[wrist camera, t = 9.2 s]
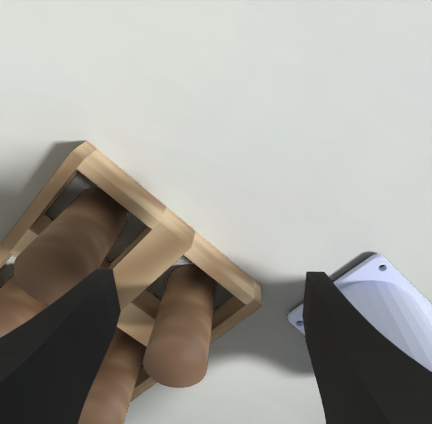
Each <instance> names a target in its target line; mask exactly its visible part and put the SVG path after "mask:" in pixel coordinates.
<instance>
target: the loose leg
mask: <svg viewBox="0 0 432 424" xmlns="http://www.w3.org/2000/svg"><path fill="white" fill-rule="evenodd" d="M126 222H127V210H126V208H125V207H123V206H122V205H121V204H120V203H118V202H117V201H116V200H115V199H113V198H112V197H111V196H110V195H108V194H107V193H106V192H105V191H103V190H102V189H101V188H92V189H88V190H85V191H84V192H82V193H81V194H80V195H79V196H78V197H77V198H76V199H75V200H74V201H73V202H72V203H71V204H70V205H69V206H68V207H67V208H66V209H65V210H64V211H63V212H62V213H61V214H60V215H59V216H58V217H57V218H56V219H55V220H54V221H53V222H52V223H51V224H50V225H49V226H48V227H47V228H45V229H44V230H43V231H42V232H41V233H40V234H39V235H38V236H37V237H36V238H35V239H34V240H33V241H32V242H31V243H30V244H29V245H28V246H27V247H26V248H25V249H24V250H23V251H22V252H21V253H20V254H19V255H18V257H17V258H16V260H15V262H14V275H15V278H16V280H17V282H18V284H19V285H20V287H21V288H22V289H23V290H24V291H25V292H26V293H27V294H28V295H29V296H31V297H32V298H34V299H36V300H38V301H40V302H42V303H45V304H49V305H51V304H52V303H54V302H55V301H56V300H58V299H59V298H60V297H61V296H63V295H64V294H65V293H66V292H68V291H69V290H70V289H72V288H73V287H74V286H75V285H77V284H78V283H79V282H80V281H82V280H83V279H84V278H85V277H87V276H88V275H89V274H91V273H92V272H93V271H95V270H96V269H98V268H99V267H100V265H101V263H102V262H103V260H104V259H105V257H106V255H107V254H108V252H109V250H110V249H111V247H112V246H113V244H114V242H115V241H116V239H117V237H118V236H119V234H120V233H121V231H122V229H123V228H124V226H125V224H126Z"/></svg>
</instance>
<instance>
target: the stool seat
mask: <svg viewBox="0 0 432 424" xmlns="http://www.w3.org/2000/svg"><path fill="white" fill-rule="evenodd" d="M79 171H80V172H81V173H82V174H83V175H85V176H86V177H87V178H88V179H90V180H91V181H92V182H93V183H95V184H96V185H97V186H98V187H100V188H101V189H102V190H103V191H105V192H106V193H107V194H108V195H110V196H111V197H112V198H113V199H115V200H116V201H117V202H118V203H120V204H121V205H122V206H123V207H125V208H126V209H127V210H128V211H130V212H131V213H132V214H133V215H135V216H136V217H137V218H138V219H140V220H141V221H142V222H143V223H145V224H146V225H147V227H146V228H145V229H144V230H143V231H142V232H141V233H140V234H139V235H138V237H137V238H136V239H135V240H134V241H133V242H132V243H131V244H130V245H129V246H128V247H127V248H126V249H125V250H124V251H123V252H122V253H121V254H120V255H119V256H118V257H117V258H116V259H115V260H114V261H113V262H112V263H110V262H108V261H107V260H106V259H104V260H103V262H102V263H101V265H100V267H99V268H98V269H113V273H114V278H115V283H116V288H117V294H118V299H119V304H120V309H121V313H120V316H119V320H118V323H117V327H116V330H115V333H114V336H113V339H112V341H111V343H110V346H109V348H108V350H107V352H106V355H105V357H104V359H103V361H102V364H101V366H100V368H99V370H98V373H97V375H96V377H95V379H94V382H93V384H92V386H91V388H90V391H89V393H88V396H87V398H86V401H85V403H84V406H83V409H82V412H81V415H80V418H79V421H78V424H123V422H124V419H125V416H126V413H127V409H128V406H129V403H130V402H131V401H132V400H133V399H135V398H136V397H138V396H139V395H140V394H142V393H143V392H144V391H146V390H147V389H149V388H150V387H151V386H153V385H154V384H155V383H157V382H158V383H160V384H163V385H165V386H169V387H176V388H183V387H189V386H192V385H195V384H197V383H198V382H200V381H201V380H202V379H203V378H204V376H205V374H206V371H207V363H208V354H209V345H210V343H211V342H213V341H214V340H216V339H217V338H218V337H220V336H221V335H222V334H224V333H225V332H226V331H228V330H229V329H231V328H232V327H233V326H235V325H236V324H237V323H239V322H240V321H242V320H243V319H244V318H246V317H247V316H248V315H250V314H251V313H252V312H254V311H255V310H257V309H258V308H259V307H261V306H262V294H261V286H260V285H259V284H258V283H257V282H255V281H254V280H253V279H252V278H251V277H249V276H248V275H247V274H246V273H245V272H243V271H242V270H241V269H240V268H239V267H237V266H236V265H235V264H234V263H233V262H231V261H230V260H229V259H228V258H227V257H225V256H224V255H223V254H222V253H221V252H220V251H218V250H217V249H216V248H215V247H214V246H212V245H211V244H210V243H209V242H208V241H206V240H205V239H204V238H203V237H202V236H200V235H199V234H198V233H197V232H196V231H194V230H193V229H192V228H191V227H190V226H188V225H187V224H186V223H185V222H184V221H182V220H181V219H180V218H179V217H178V216H176V215H175V214H174V213H173V212H172V211H170V210H169V209H168V208H167V207H166V206H164V205H163V204H162V203H161V202H160V201H158V200H157V199H156V198H155V197H154V196H152V195H151V194H150V193H149V192H148V191H146V190H145V189H144V188H143V187H142V186H140V185H139V184H138V183H137V182H136V181H134V180H133V179H132V178H131V177H130V176H128V175H127V174H126V173H125V172H124V171H123V170H121V169H120V168H119V167H118V166H117V165H115V164H114V163H113V162H112V161H111V160H109V159H108V158H107V157H106V156H105V155H103V154H102V153H101V152H100V151H99V150H97V149H96V148H95V147H94V146H93V145H91V144H90V143H89V142H88V141H85V142H84V143H82V144H81V145H80V146H78V147H77V148H75V149H74V150H72V152H71V153H70V154H69V155H68V157H67V158H66V159H65V161H64V162H63V163H62V165H61V166H60V167H59V168H58V170H57V171H56V172H55V174H54V175H53V176H52V178H51V179H50V180H49V181H48V183H47V184H46V185H45V187H44V188H43V189H42V191H41V192H40V193H39V194H38V196H37V197H36V198H35V200H34V201H33V202H32V204H31V205H30V206H29V207H28V209H27V210H26V211H25V213H24V214H23V215H22V217H21V218H20V219H19V220H18V222H17V223H16V224H15V226H14V227H13V228H12V230H11V231H10V232H9V233H8V235H7V236H6V237H5V239H4V240H3V241H2V243H1V244H0V269H1V268H2V267H3V265H4V264H5V263H6V262H7V260H8V259H9V258H10V257H11V255H14V256H15V257H16V258H17V257H18V255H19V254H20V253H21V252H22V251H23V250H24V249H25V248H26V247H27V246H28V245H29V244H30V243H31V242H32V241H33V240H34V239H35V238H36V237H37V236H38V235H39V234H40V233H41V232H42V231H43V230H44V229H45V228H47V227H48V226H49V225H50V224H51V223H52V222H53V220H52V219H50V218H49V217H48V216H46V215H45V213H46V212H47V211H48V209H49V208H50V207H51V206H52V204H53V203H54V202H55V201H56V199H57V198H58V197H59V196H60V194H61V193H62V192H63V191H64V189H65V188H66V187H67V186H68V184H69V183H70V182H71V181H72V179H73V178H74V177H75V176H76V175H77V173H78V172H79ZM183 255H184V256H186V257H187V258H188V259H189V260H191V261H192V262H193V263H194V264H196V265H183V266H180V267H177V268H176V269H174V270H173V271H172V272H171V273H170V275H169V277H168V280H167V283H166V287H165V290H164V293H163V296H162V300H160V299H158V298H157V297H156V296H154V295H153V294H151V293H150V292H149V291H147V290H146V288H147V287H148V286H149V285H151V284H152V283H153V282H154V281H155V280H156V279H157V278H158V277H159V276H161V275H162V274H163V273H164V272H165V271H166V270H167V269H168V268H169V267H170V266H172V265H173V264H174V263H175V262H176V261H177V260H178V259H179V258H180V257H182V256H183ZM215 280H216V281H217V282H218V283H219V284H221V285H222V286H223V287H224V288H226V289H227V290H228V291H229V292H231V293H232V294H233V296H232V297H231V298H230V299H228V300H227V301H226V302H224V303H223V304H222V305H221V306H219V307H218V308H217V309H215V310H214V311H213V309H214V299H215V290H216V282H215ZM48 306H49V304H45V303H42V302H40V301H38V300H36V299H34V298H32V297H31V296H29V295H28V294H27V293H26V292H25V291H24V290H23V289H22V288H21V287H20V285H19V284H18V282H17V280H16V278H15V275H13V276H12V277H11V278H10V279H9V280H8V281H7V282H6V283H5V284H4V285H3V286H2V287H1V288H0V338H1V337H2V336H4V335H6V334H7V333H9V332H11V331H12V330H14V329H16V328H17V327H19V326H20V325H22V324H24V323H25V322H27V321H28V320H30V319H31V318H33V317H34V316H35V315H37V314H38V313H40V312H41V311H42V310H44V309H45V308H47V307H48ZM145 351H146V352H145ZM144 354H145V355H144ZM142 361H143V366H142V367H141V364H142ZM140 367H141V368H140Z"/></svg>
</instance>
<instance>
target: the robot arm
mask: <svg viewBox="0 0 432 424" xmlns="http://www.w3.org/2000/svg"><path fill="white" fill-rule="evenodd" d="M380 265H384V266H383V267H381V268H379V266H380ZM120 313H121V309H120V304H119V299H118V294H117V288H116V283H115V278H114V273H113V269H96V270H95V271H93V272H92V273H91V274H89V275H88V276H87V277H85V278H84V279H83V280H82V281H80V282H79V283H78V284H77V285H75V286H74V287H73V288H72V289H70V290H69V291H68V292H66V293H65V294H64V295H63V296H61V297H60V298H59V299H58V300H56V301H55V302H54V303H52V304H51V305H49V306H48V307H47V308H45V309H44V310H42V311H41V312H40V313H38V314H37V315H35V316H34V317H33V318H31V319H30V320H28V321H27V322H25V323H24V324H22V325H20V326H19V327H17V328H16V329H14V330H12V331H11V332H9V333H7V334H6V335H4V336H2V337H1V338H0V424H78V421H79V418H80V415H81V412H82V409H83V406H84V403H85V401H86V398H87V396H88V393H89V391H90V388H91V386H92V384H93V382H94V379H95V377H96V375H97V373H98V370H99V368H100V366H101V364H102V361H103V359H104V357H105V355H106V352H107V350H108V348H109V346H110V343H111V341H112V339H113V336H114V333H115V330H116V327H117V323H118V320H119V316H120ZM288 321H289V322H290V323H291V324H292V325H293V326H294V327H296V328H297V329H298V330H299V331H300V332H302V333H303V334H304V335H305V338H306V343H307V347H308V351H309V354H310V358H311V362H312V366H313V369H314V373H315V377H316V381H317V384H318V388H319V392H320V395H321V399H322V404H323V408H324V412H325V418H326V424H432V304H431V303H430V302H429V301H428V300H427V299H426V298H425V297H424V296H423V295H422V294H421V293H420V292H419V291H418V290H417V289H416V288H415V287H414V286H413V285H412V284H411V283H410V282H409V281H408V280H406V279H405V278H404V277H403V276H402V275H401V274H400V273H399V272H398V271H397V270H396V269H395V268H394V267H393V266H392V265H391V264H390V263H389V262H388V261H387V260H386V259H385V258H384V257H383V256H382V255H381V254H374V255H372V256H370V257H369V258H368V259H366V260H365V261H363V262H362V263H360V264H359V265H357V266H356V267H355V268H353V269H352V270H350V271H349V272H347V273H346V274H344V275H343V276H342V277H340V278H339V279H337V280H336V281H334V282H332V281H331V279H330V278H329V277H328V276H327V275H326V274H325V272H307V274H306V284H305V294H304V303H303V304H301V305H300V306H298V307H297V308H295V309H294V310H293V311H291V312H290V313H289V314H288ZM297 321H302V322H297Z"/></svg>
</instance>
